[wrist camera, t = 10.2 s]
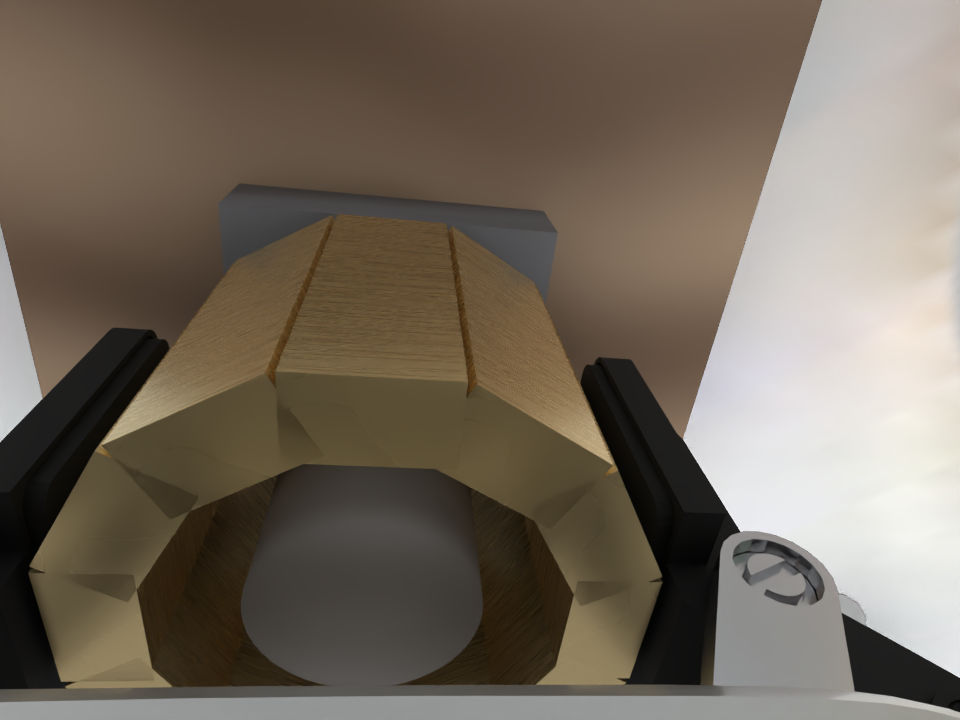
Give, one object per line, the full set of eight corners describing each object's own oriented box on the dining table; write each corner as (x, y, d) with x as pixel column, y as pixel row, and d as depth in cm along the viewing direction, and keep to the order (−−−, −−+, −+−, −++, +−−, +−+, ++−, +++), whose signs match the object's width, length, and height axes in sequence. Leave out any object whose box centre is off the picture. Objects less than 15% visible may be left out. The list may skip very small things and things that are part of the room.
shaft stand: (-52, -242, 10) (-1644, -1110, 2) (810, -100, 12) (1539, -313, 4) (117, 570, 19) (-104, 980, 11) (612, 578, 21) (734, 929, 13)
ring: (169, 199, 10) (-39, 353, 5) (597, 236, 10) (727, 396, 6) (207, 532, 13) (97, 803, 8) (535, 539, 14) (591, 789, 9)
